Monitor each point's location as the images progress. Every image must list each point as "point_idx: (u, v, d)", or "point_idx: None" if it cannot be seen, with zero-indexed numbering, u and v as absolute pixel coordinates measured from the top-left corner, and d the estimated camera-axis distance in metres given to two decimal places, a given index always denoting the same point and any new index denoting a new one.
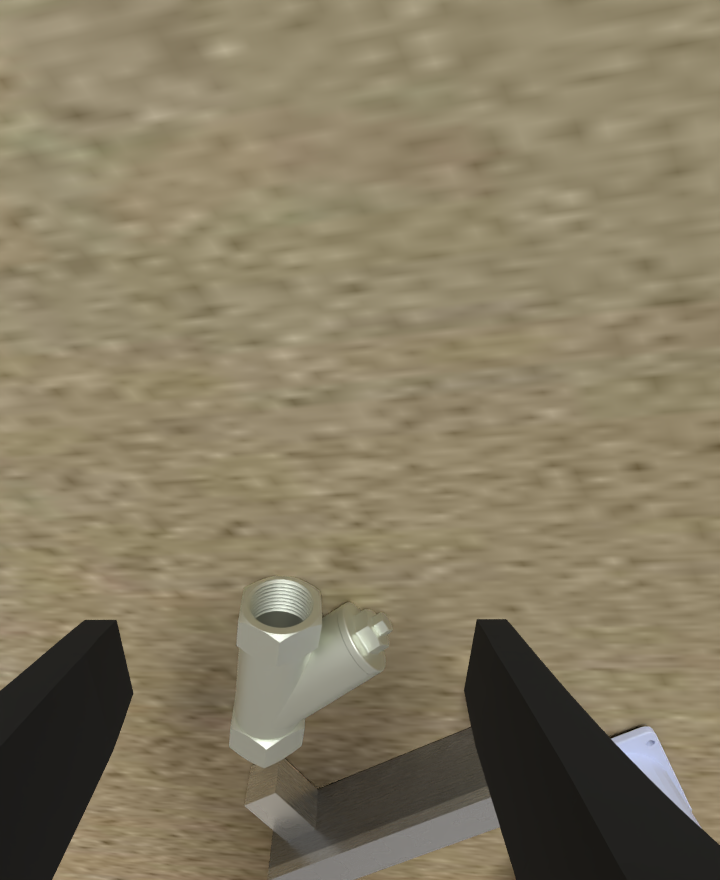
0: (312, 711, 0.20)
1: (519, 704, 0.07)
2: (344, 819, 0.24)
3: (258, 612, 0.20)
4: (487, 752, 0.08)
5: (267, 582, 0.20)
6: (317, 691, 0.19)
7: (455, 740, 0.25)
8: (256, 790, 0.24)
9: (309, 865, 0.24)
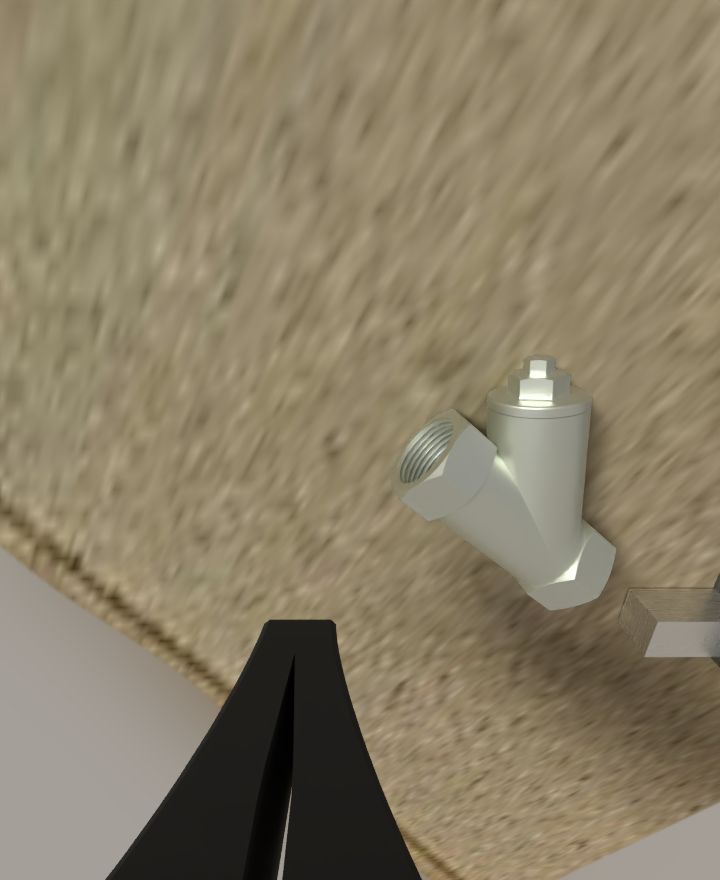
0: (572, 506, 0.15)
1: (294, 706, 0.07)
2: None
3: None
4: None
5: (404, 452, 0.17)
6: (548, 483, 0.14)
7: None
8: (641, 635, 0.19)
9: None
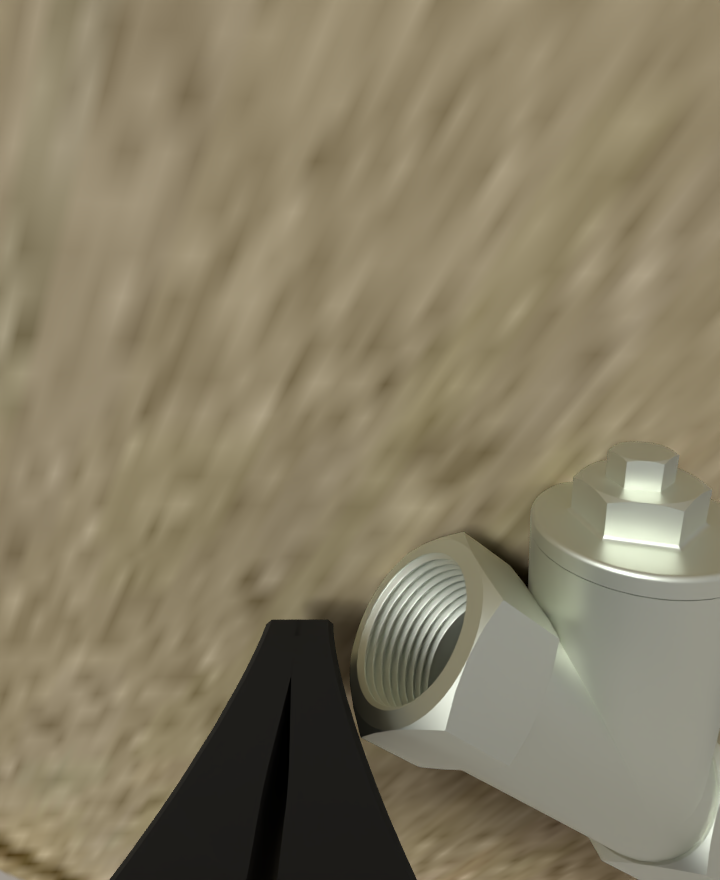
0: (709, 746, 0.07)
1: (291, 706, 0.07)
2: None
3: (425, 654, 0.09)
4: None
5: (377, 603, 0.09)
6: (667, 715, 0.07)
7: None
8: None
9: None
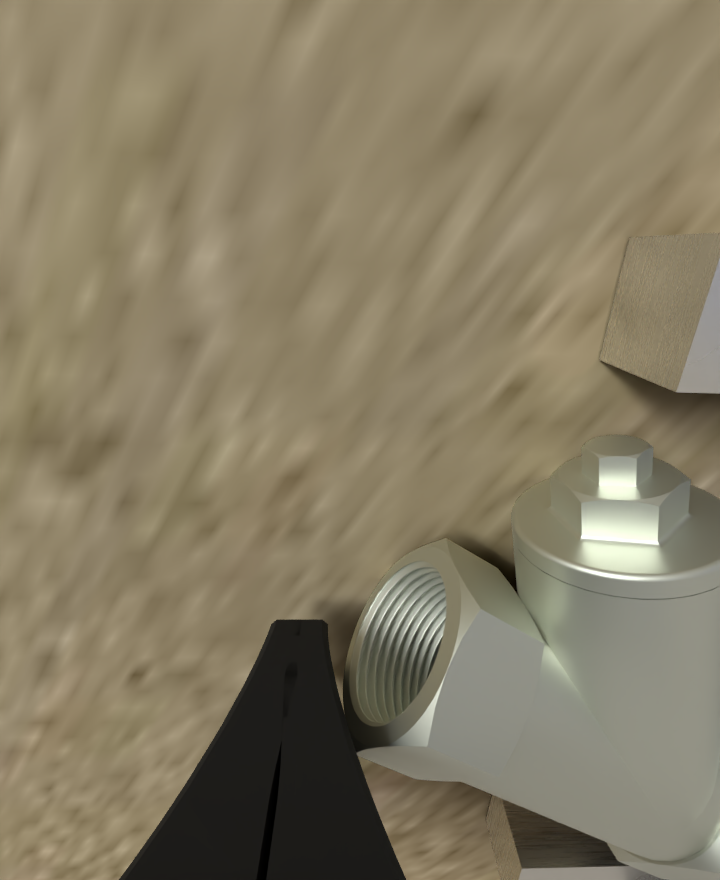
0: (711, 742, 0.07)
1: (283, 706, 0.07)
2: None
3: (421, 662, 0.09)
4: None
5: (368, 615, 0.09)
6: (662, 715, 0.07)
7: None
8: (506, 870, 0.12)
9: None
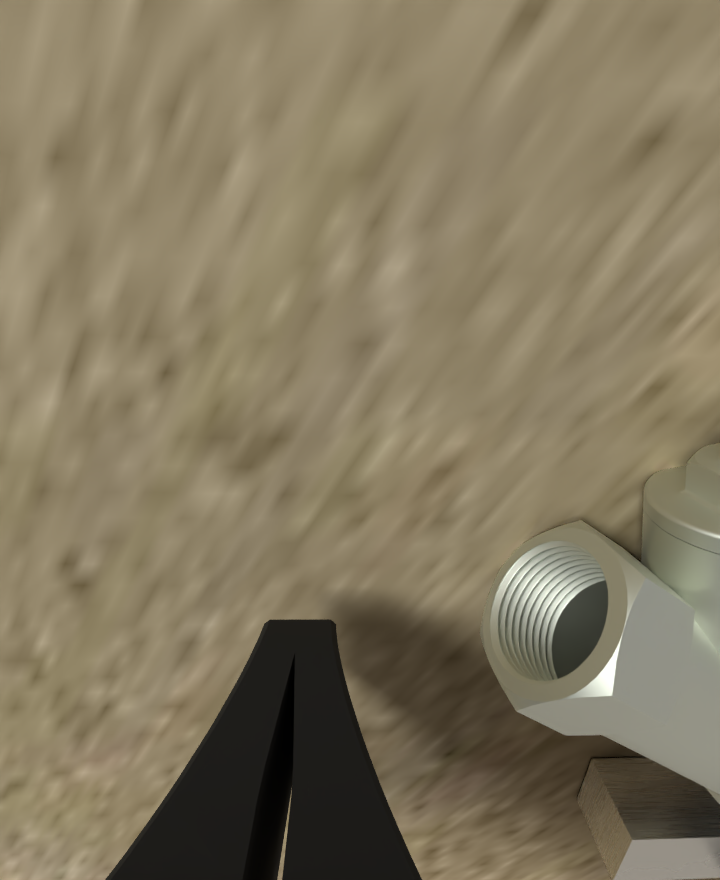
0: None
1: (294, 705, 0.07)
2: None
3: (545, 635, 0.10)
4: None
5: (499, 591, 0.10)
6: None
7: None
8: (608, 844, 0.12)
9: None
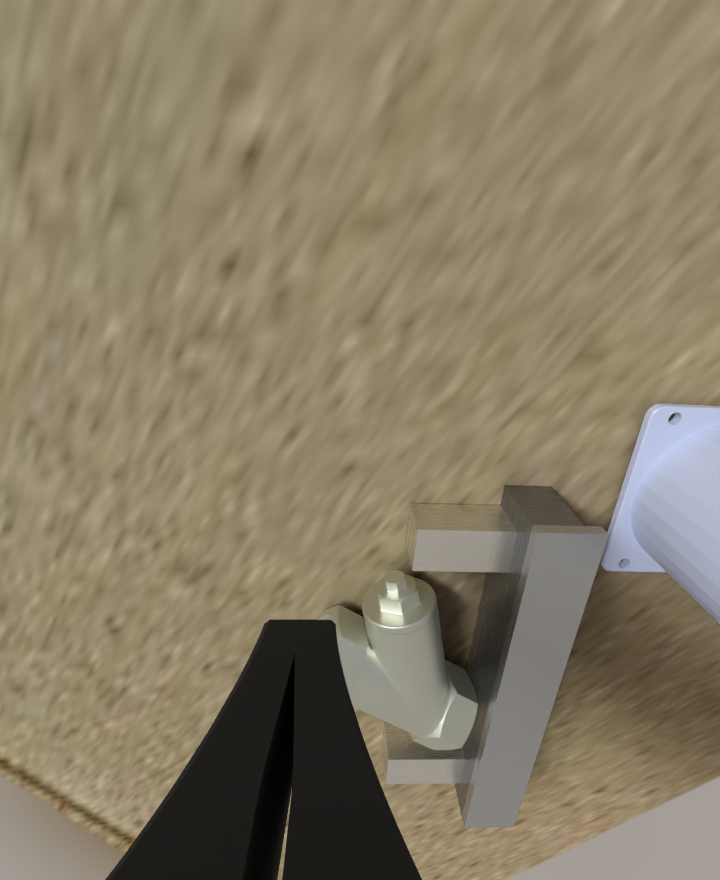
0: (430, 685, 0.19)
1: (294, 705, 0.07)
2: (471, 736, 0.22)
3: None
4: None
5: None
6: (406, 674, 0.19)
7: (484, 598, 0.21)
8: (385, 765, 0.24)
9: (474, 795, 0.22)
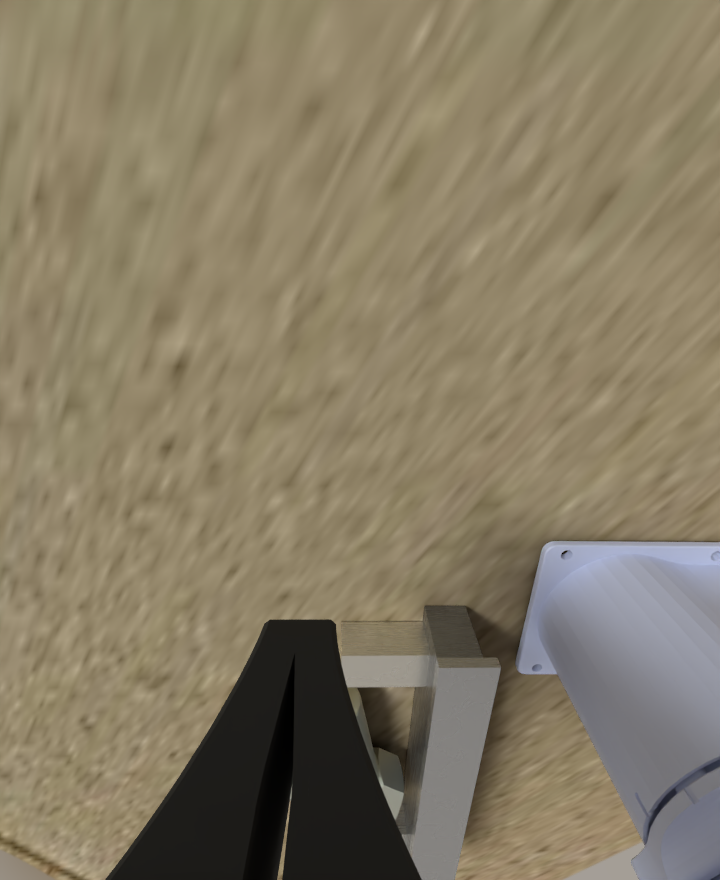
0: None
1: (294, 705, 0.07)
2: (409, 816, 0.25)
3: None
4: None
5: None
6: None
7: (415, 697, 0.23)
8: None
9: None
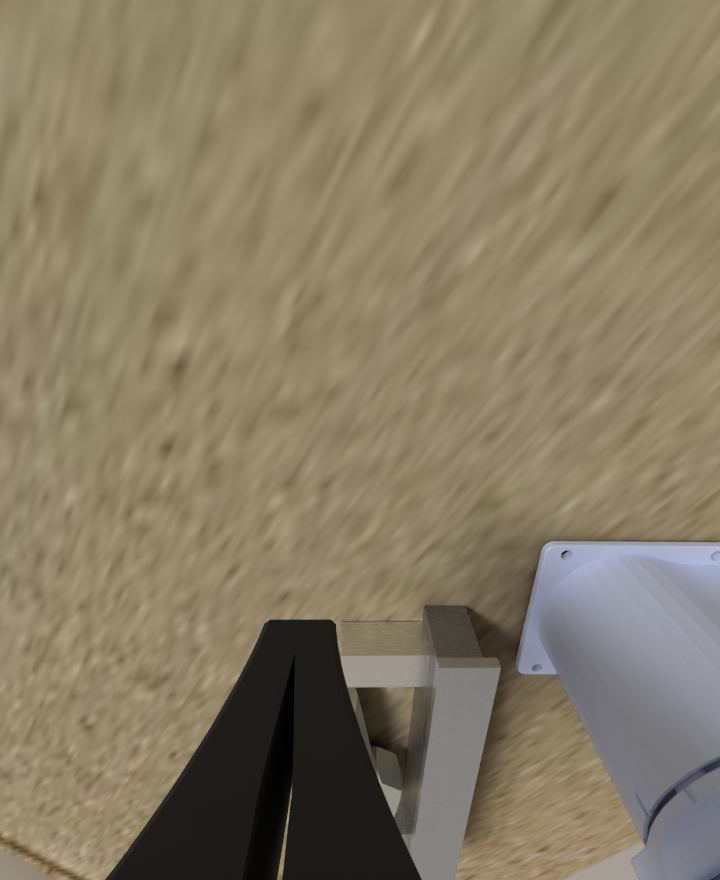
0: None
1: (294, 705, 0.07)
2: (409, 816, 0.25)
3: None
4: None
5: None
6: None
7: (415, 697, 0.23)
8: None
9: None
